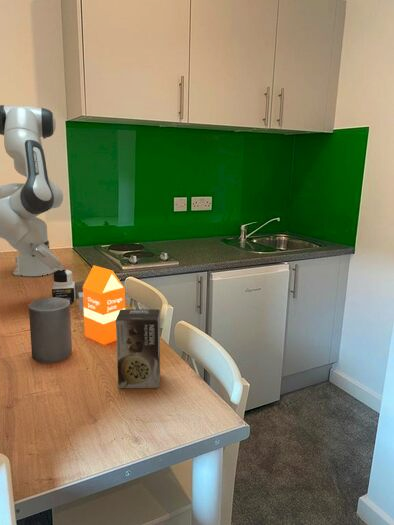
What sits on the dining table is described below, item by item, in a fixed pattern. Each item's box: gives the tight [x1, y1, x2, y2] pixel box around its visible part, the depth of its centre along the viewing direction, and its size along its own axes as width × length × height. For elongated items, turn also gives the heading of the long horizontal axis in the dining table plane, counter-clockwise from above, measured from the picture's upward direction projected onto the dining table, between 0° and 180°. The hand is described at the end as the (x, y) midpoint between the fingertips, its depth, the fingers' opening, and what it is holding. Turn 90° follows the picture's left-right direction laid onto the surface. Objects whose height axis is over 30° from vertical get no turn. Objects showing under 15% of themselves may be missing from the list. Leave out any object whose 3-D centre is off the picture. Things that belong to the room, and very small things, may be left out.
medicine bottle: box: [51, 269, 77, 308], centre depth 134 cm, size 7×7×12 cm
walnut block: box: [74, 280, 86, 300], centre depth 144 cm, size 5×5×5 cm
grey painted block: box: [78, 292, 84, 312], centre depth 132 cm, size 5×5×5 cm
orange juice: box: [82, 265, 126, 346], centre depth 109 cm, size 8×9×20 cm
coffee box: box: [116, 308, 161, 389], centre depth 86 cm, size 9×6×16 cm
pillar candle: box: [28, 296, 73, 364], centre depth 98 cm, size 10×10×15 cm
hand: (62, 268), depth 133 cm, fingers closed
